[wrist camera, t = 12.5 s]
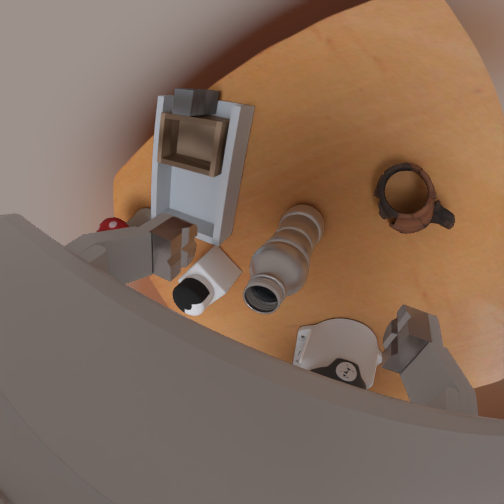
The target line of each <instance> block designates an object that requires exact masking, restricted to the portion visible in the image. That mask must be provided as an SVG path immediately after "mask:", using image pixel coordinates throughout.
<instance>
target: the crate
mask: <svg viewBox="0 0 504 504" xmlns="http://www.w3.org/2000/svg"><path fill="white" fill-rule="evenodd" d="M219 92H220V91H214V90H205V89H175V93H174V100H173V108H172V111H170V112H162V113H161V119H160V129H159V141H158V154H157V162H159V163H162V164H166V165H170V166H174V167H178V168H181V169H185V170H189V171H192V172H196V173H199V174H203V175H206V176H210V177H213V178H214V177H216V176H218V175H220V174H221V173H222V166H223V160H224V154H225V147H226V141H227V135H228V129H229V123H230V119H229V118H223V117H218V116H212V115H207V114H216V110H217V104H218V98H219Z"/></svg>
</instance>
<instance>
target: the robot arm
mask: <svg viewBox="0 0 504 504" xmlns="http://www.w3.org/2000/svg"><path fill="white" fill-rule="evenodd" d="M197 231H198V227H197V226H196V224H193V223H191V222H188V221H186V220H183V219H181V218H178V217H176V216H173V215H171V214H168V213H161V214H159V215H158V216H156V217H154V218H153V219H151V220H149V221H148V222H146V223H144V224H143V225H141V226H140V227H136V226H134V227H127V228H120V229H114V230H107V231H101V232H95V233H89V234H83V235H82V236H80V237H78V238H77V239H75V240H73V241H72V242H71V243H69V244H67V245H66V246H63V245H61V244H60V243H59V242H57V241H56V240H54V239H53V238H51V237H50V236H48V235H47V234H46V233H44V232H43V231H42V230H40V229H39V228H37V227H36V226H35V225H33V224H32V223H31V222H29V221H28V220H26V219H25V218H24V217H23V216H21V215H19V214H5V215H0V504H504V420H501V419H494V418H486V417H479V416H478V410H477V401H476V393H475V391H474V390H473V388H472V386H471V385H470V383H469V381H468V380H467V378H466V377H465V375H464V374H463V372H462V371H461V369H460V367H459V366H458V364H457V363H456V361H455V360H454V359H453V357H452V356H451V354H450V353H449V351H448V350H447V348H445V347H443V342H442V336H441V331H440V325H439V320H438V318H437V316H435V315H432V314H429V313H426V312H423V311H420V310H417V309H415V308H412V307H409V306H406V305H402V306H401V307H400V309H399V310H398V312H397V318H396V319H394V320H392V321H391V322H390V324H389V325H388V327H387V329H386V331H385V333H384V337H383V346H384V347H385V351H384V352H383V353H381V352H380V350H379V349H378V344H377V339H376V336H375V335H374V333H373V332H372V331H371V330H370V329H369V328H368V327H367V326H365V325H363V324H362V323H359V322H357V321H354V320H349V319H330V320H326V321H323V322H321V323H319V324H316V325H310V326H302V327H300V328H299V331H298V336H297V342H296V348H295V353H294V359H293V364H291V363H288V362H285V361H283V360H280V359H278V358H275V357H273V356H270V355H268V354H266V353H263V352H261V351H258V350H256V349H254V348H251V347H249V346H247V345H244V344H242V343H240V342H238V341H235V340H233V339H231V338H229V337H226V336H224V335H222V334H220V333H218V332H216V331H213V330H211V329H209V328H207V327H205V326H203V325H201V324H199V323H197V322H195V321H193V320H191V319H189V318H187V317H185V316H183V315H181V314H179V313H177V312H175V311H173V310H171V309H169V308H167V307H165V306H163V305H162V304H160V303H158V302H156V301H154V300H152V299H150V298H149V297H147V296H145V295H143V294H141V293H140V292H138V291H136V290H134V289H132V288H131V287H129V286H127V285H125V284H126V283H129V282H132V281H135V280H138V279H141V278H144V277H147V276H150V275H152V274H155V275H157V276H159V277H161V278H164V279H166V280H168V281H170V282H171V281H172V280H173V279H174V278H175V277H176V276H177V275H178V274H179V273H180V268H182V267H186V266H188V265H189V264H190V263H191V261H192V259H193V258H194V255H195V252H196V243H195V241H194V238H195V237H196V236H197ZM381 362H382V366H381V367H382V368H385V369H388V370H391V371H394V372H396V373H399V374H400V376H401V379H402V381H403V384H404V386H405V389H406V392H407V394H408V397H409V399H410V402H408V401H404V400H400V399H396V398H393V397H389V396H385V395H382V394H378V393H375V392H372V391H368V389H369V388H370V387H372V385H373V382H374V377H375V372H376V366H377V365H379V364H380V363H381Z"/></svg>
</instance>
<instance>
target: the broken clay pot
mask: <svg viewBox="0 0 504 504" xmlns="http://www.w3.org/2000/svg"><path fill="white" fill-rule="evenodd" d="M411 170H412V171H414V172H416V173H418V174H419V175H420V176H421V177H422V179H423V180H424V181H425V183H426V185H427V189H428V198H427V201H426V203H425V205H424V206H423V207H422V208H421V209H420V210H418V211H417V212H414V213H409V214H406V213H401V212H398V211H396V210H394V209H393V208H392V207H391V206H390V205H389V203H388V202H387V200H386V197H385V185H386V183H387V181H388V179H389V178H390V177H391V176H392V175H393V174H395V173H397V172H399V171H411ZM374 196H376V197H378V198H379V199H380V202H379V206H378V207H379V214H380V216H381V217H382V218H383V219H386V218H397V219H396V221H395V223H393V222H391V223H389V226H390V227H392V228H393V229H395V230H397V231H399V232H400V233H406V234H407V233H415V232H418V231H420V230H422V229H424V228H426V227H427V226H428V225H429V224H430V223H436V224H440V225H441V226H443V227H445V228H447V229H451V228H452V227H453V226H454V223H455V218H454V215H453V213H451V212H450V211H449V210H447V209H445V208H444V207H443V206H442V205H441V204H440V201H439V200H437V201H436V202H435V203H434V199H435V198H436V192H435V189H434V186H433V183H432V181H431V179H430V177H429V176H428V174H427V173H426V172H425V171H424V170H423V169H422V168H421V167H419V166H417V165H414V164H409V163H401V164H397V165H394V166H392V167H390V168H389V169H387V170H386V171H385V172H384V174H383V175H382V176H381V177H380V179H379V181H378V183H377V186H376V189H375V191H374Z"/></svg>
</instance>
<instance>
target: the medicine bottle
mask: <svg viewBox="0 0 504 504" xmlns="http://www.w3.org/2000/svg"><path fill="white" fill-rule="evenodd" d="M241 273H242V271H241V270H240V269H239V268H238V267H237V266H236V265H235V264H234V262H233V261H232V260H231V259H230V258H229V257H228V256H227V255H226V254H225V253H224V252H223V251H222V250H221V249H220V247H218V246H215V245H214V246H213V247H212V248H211V249H210V250H209V251H208V252H207V253H206V254H205V255H204V256H203V257H202V258H200V259H199V260H198V261H197V262H196V263H195V264H194V265H193V266H192V267H191V268H190V269H189V270H188V271H187V272H186V273H185V274H184V275H183V276H182V277H181V278H180V279H179V280H178V281H179V284H178V285H177V286H176V287H175V288H174V290H173V299H174V302H175V304H176V305H177V306H178V308H179V309H180V310H182V311H183V312H184V313H186V314H189V315H192V316H197V315H200V314H201V313H202V312H203V311H204V310H205V309H206V307H207V306H209V305H210V304H211V303H213V302H214V301H216V300H217V299H219V298H220V297H222V296H223V295H224V294H226V293H227V291H228V290H229V289H230V288H231V286H232V285H233V284H234V282H235V281H236V280H237V278H238V277H239V276H240V274H241Z"/></svg>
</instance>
